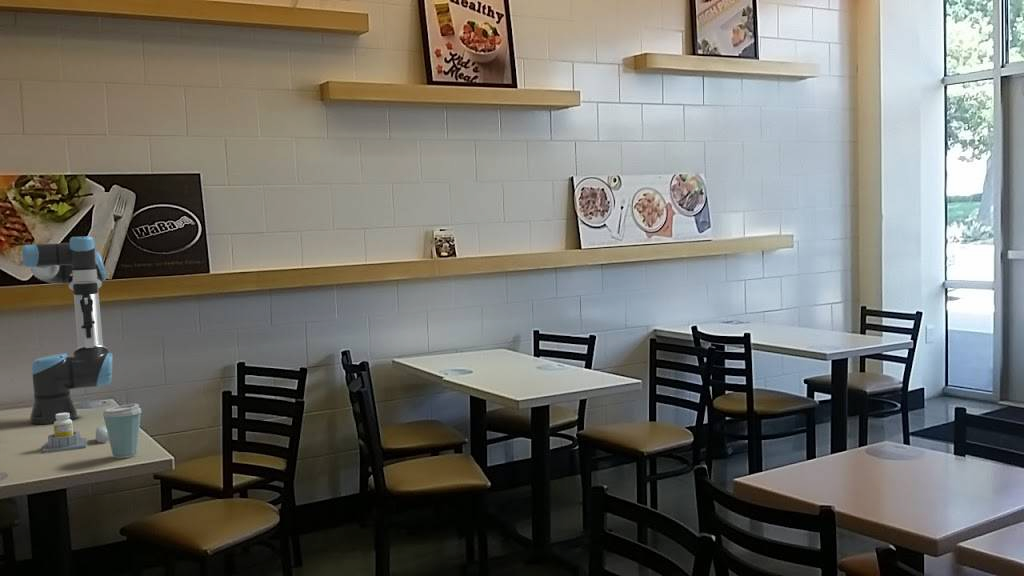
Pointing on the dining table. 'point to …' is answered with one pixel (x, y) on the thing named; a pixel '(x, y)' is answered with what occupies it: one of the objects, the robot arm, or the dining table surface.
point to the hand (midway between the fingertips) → (89, 345)
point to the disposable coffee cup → (123, 429)
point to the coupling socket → (64, 443)
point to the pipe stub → (102, 434)
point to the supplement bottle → (63, 425)
